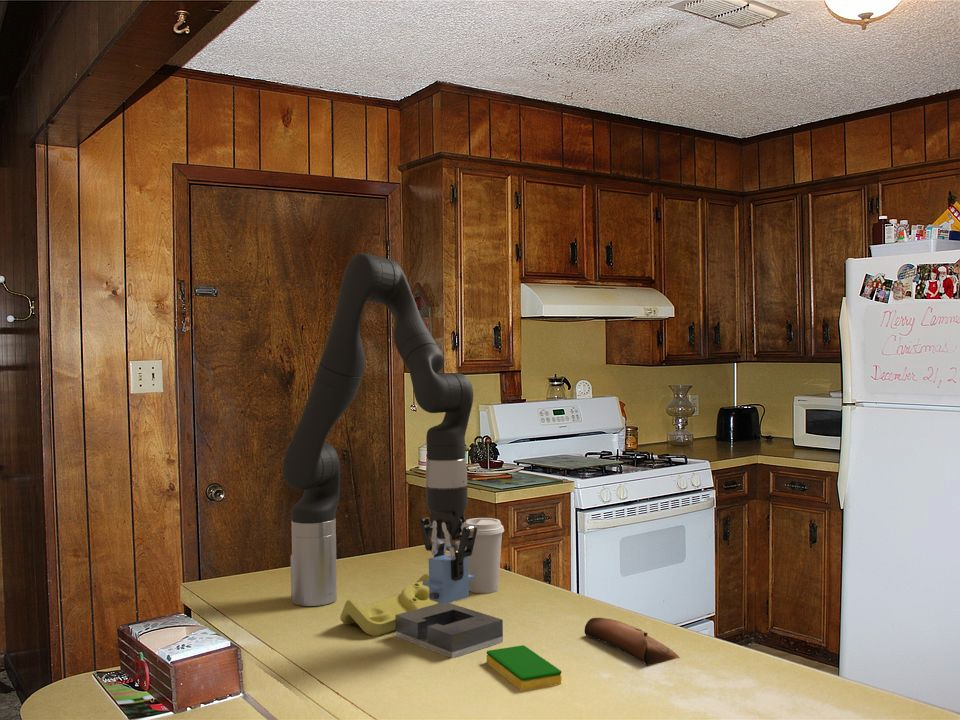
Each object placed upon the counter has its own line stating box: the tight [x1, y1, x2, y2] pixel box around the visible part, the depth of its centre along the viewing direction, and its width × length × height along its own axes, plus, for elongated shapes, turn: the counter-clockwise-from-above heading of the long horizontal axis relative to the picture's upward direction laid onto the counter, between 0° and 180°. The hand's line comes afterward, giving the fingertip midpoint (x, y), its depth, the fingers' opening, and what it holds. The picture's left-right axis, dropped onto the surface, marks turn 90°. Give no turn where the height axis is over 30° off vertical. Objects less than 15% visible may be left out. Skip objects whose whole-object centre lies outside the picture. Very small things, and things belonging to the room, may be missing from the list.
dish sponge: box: [486, 645, 562, 691], centre depth 143 cm, size 7×14×2 cm, turn 23°
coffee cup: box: [465, 517, 505, 594], centre depth 193 cm, size 10×10×15 cm
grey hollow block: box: [395, 602, 504, 659], centre depth 160 cm, size 16×12×4 cm
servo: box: [423, 550, 475, 604], centre depth 160 cm, size 4×9×8 cm, turn 133°
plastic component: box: [339, 572, 439, 637], centre depth 172 cm, size 20×7×10 cm
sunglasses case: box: [583, 617, 681, 667], centre depth 154 cm, size 18×7×7 cm
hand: (448, 577), depth 160 cm, fingers closed on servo, 4 cm apart
